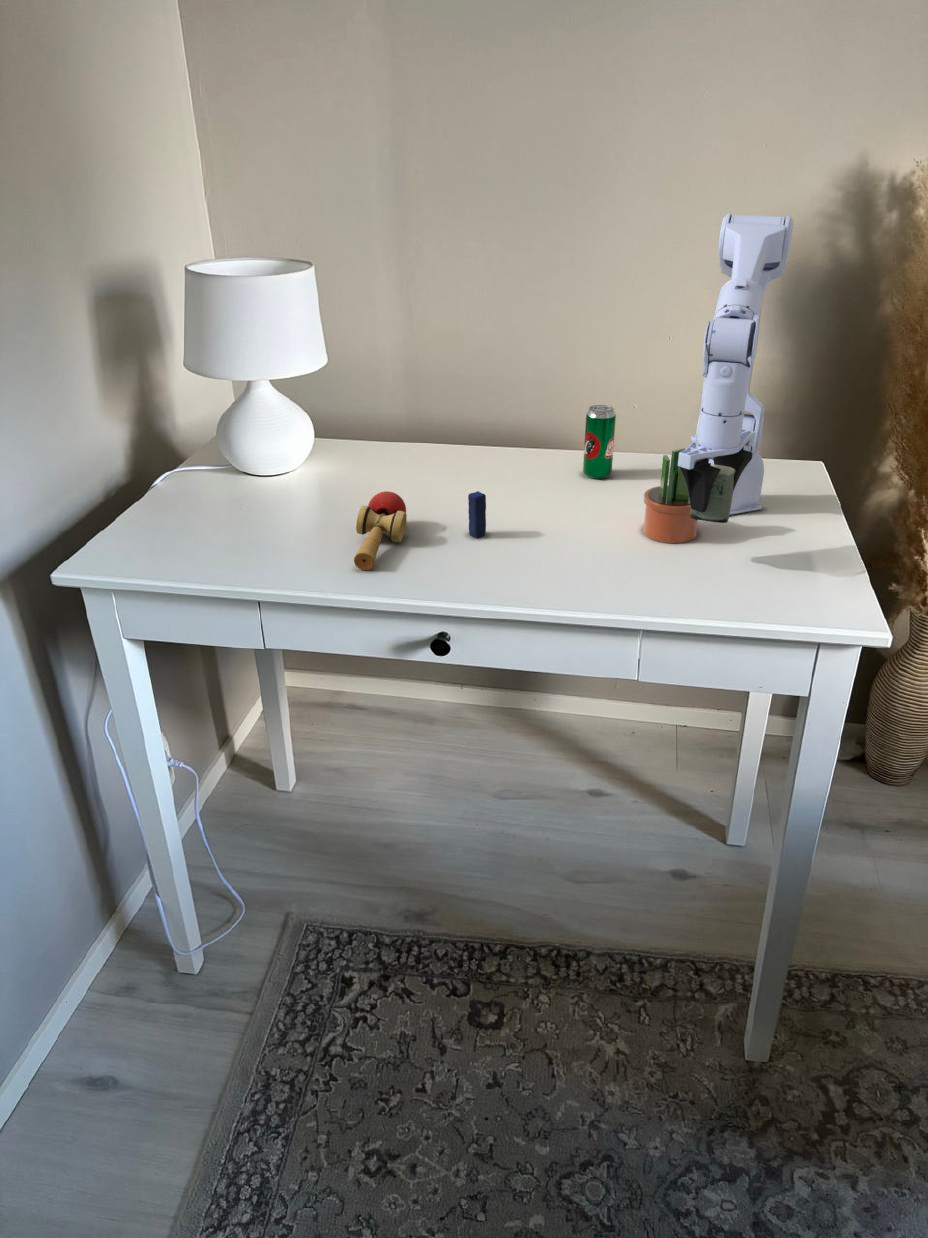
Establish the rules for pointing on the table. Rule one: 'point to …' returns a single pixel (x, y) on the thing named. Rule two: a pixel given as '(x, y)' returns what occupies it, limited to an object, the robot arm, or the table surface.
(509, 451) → the table surface
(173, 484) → the table surface
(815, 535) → the table surface
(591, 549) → the table surface
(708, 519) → the pale green rounded block
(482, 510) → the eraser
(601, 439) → the soda can
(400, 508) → the kendama
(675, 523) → the plant
